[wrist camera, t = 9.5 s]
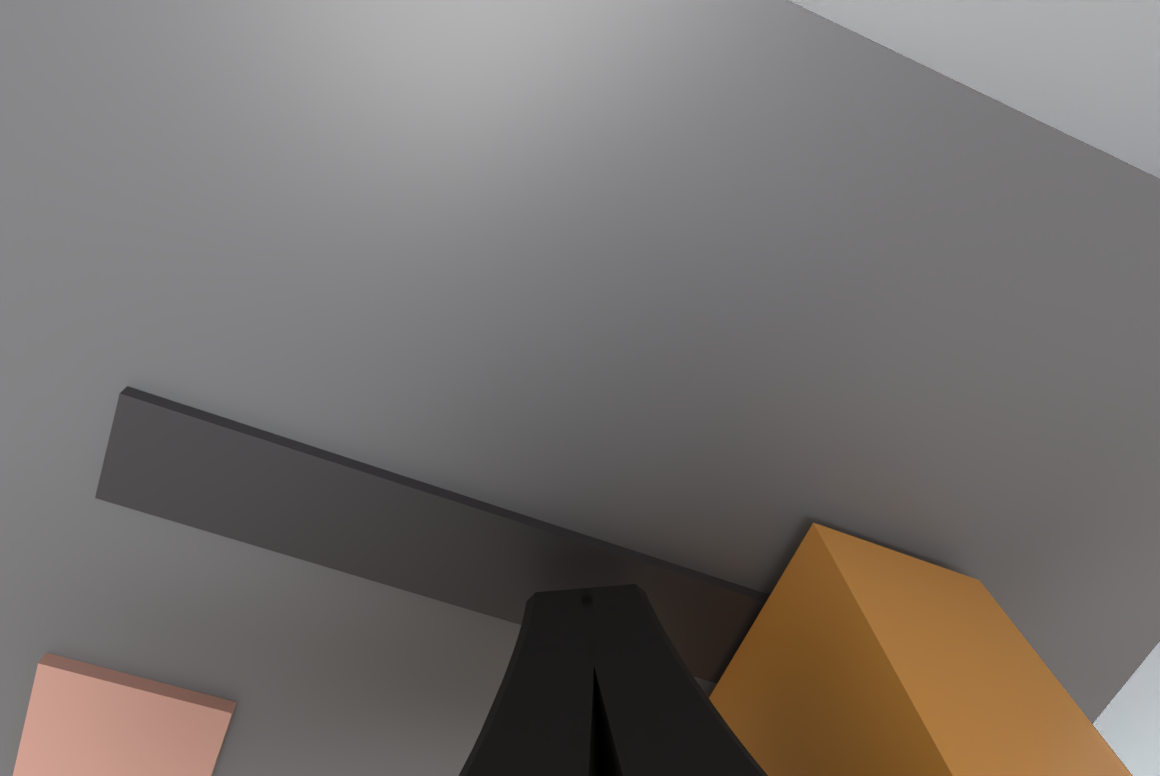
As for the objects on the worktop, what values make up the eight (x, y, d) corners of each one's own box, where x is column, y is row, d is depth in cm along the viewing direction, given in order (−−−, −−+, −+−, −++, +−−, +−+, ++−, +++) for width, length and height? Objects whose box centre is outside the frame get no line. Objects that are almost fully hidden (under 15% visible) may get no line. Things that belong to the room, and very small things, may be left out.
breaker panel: (1265, 253, 13) (1446, 314, 10) (800, 896, 17) (845, 1044, 15) (-98, -392, 9) (-340, -546, 6) (-200, 646, 14) (-361, 788, 11)
